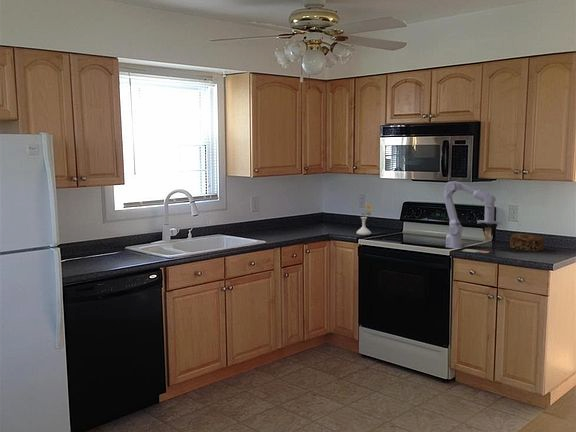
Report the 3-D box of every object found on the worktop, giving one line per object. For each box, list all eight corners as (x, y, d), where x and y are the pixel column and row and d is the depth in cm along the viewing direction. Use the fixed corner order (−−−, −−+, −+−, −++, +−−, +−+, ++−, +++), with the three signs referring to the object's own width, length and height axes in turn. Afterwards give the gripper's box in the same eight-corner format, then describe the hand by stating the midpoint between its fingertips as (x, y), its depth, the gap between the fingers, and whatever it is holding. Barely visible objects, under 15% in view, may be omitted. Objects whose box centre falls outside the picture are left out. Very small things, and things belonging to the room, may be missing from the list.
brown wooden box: (484, 240, 356) (484, 227, 355) (485, 239, 358) (486, 227, 357) (490, 240, 354) (491, 228, 353) (492, 240, 356) (492, 227, 355)
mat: (461, 251, 354) (461, 250, 354) (466, 249, 361) (466, 248, 361) (475, 253, 348) (475, 252, 348) (480, 251, 355) (480, 250, 355)
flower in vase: (359, 236, 422) (359, 203, 419) (354, 234, 433) (354, 202, 430) (375, 235, 425) (375, 203, 422) (369, 233, 436) (370, 201, 433)
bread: (508, 248, 365) (509, 233, 364) (516, 246, 373) (516, 232, 372) (537, 252, 352) (538, 236, 351) (544, 250, 359) (545, 234, 358)
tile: (480, 252, 355) (477, 253, 350) (480, 250, 355) (477, 252, 349) (490, 253, 351) (486, 254, 346) (490, 251, 351) (486, 253, 346)
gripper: (475, 214, 356) (475, 235, 357) (499, 215, 347) (498, 237, 348) (479, 213, 361) (479, 233, 363) (502, 214, 352) (501, 235, 354)
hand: (488, 235), depth 356 cm, fingers closed on brown wooden box, 4 cm apart
